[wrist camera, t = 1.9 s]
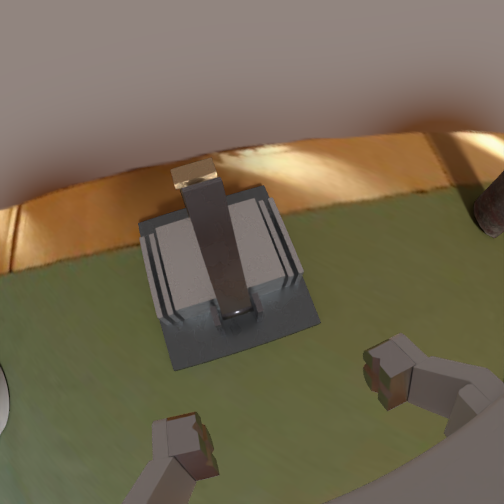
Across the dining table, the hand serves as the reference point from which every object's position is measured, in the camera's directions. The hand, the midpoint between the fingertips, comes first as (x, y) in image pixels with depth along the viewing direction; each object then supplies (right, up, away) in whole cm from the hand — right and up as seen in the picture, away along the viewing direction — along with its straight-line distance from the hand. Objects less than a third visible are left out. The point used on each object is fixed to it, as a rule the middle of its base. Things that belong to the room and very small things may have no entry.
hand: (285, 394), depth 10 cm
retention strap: (-4, +4, +18) cm, 19 cm away
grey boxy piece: (-5, +2, +30) cm, 31 cm away
